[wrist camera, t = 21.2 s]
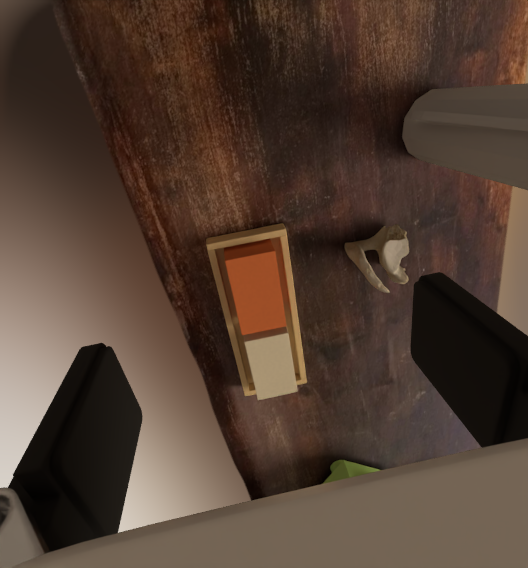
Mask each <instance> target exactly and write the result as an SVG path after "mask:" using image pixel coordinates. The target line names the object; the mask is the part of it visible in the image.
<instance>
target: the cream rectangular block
mask: <svg viewBox="0 0 528 568" xmlns="http://www.w3.org/2000/svg"><path fill="white" fill-rule="evenodd" d="M243 337H244V343H245V348H246V352H247V356H248V360H249V365H250V369H251V373H252V377H253V382H254V386H255V390H256V394H257V399H258V400H261V399H266V398H270V397H275V396H280V395H284V394H289V393H293V392H297V385H296V379H295V372H294V366H293V359H292V353H291V346H290V340H289V334H288V330H287V327H286V326H285V327H280V328H275V329H270V330H266V331H261V332H256V333H251V334H246V335H243Z"/></svg>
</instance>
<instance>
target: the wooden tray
mask: <svg viewBox="0 0 528 568" xmlns="http://www.w3.org/2000/svg"><path fill="white" fill-rule="evenodd" d="M265 239H270V240H271V242H272V245H273V247H274V249H275V253H276V259H277V266H278V272H279V279H280V286H281V292H282V299H283V305H284V312H285V319H286V325H287V326H286V327H287V330H288V334H289V340H290V346H291V353H292V359H293V366H294V372H295V379H296V385H299V384H304V383H307V379H306V372H305V365H304V357H303V350H302V343H301V335H300V328H299V321H298V313H297V306H296V298H295V291H294V284H293V276H292V269H291V262H290V254H289V247H288V239H287V232H286V228H285V227H284V225H283V223H281V224H276V225H271V226H266V227H261V228H256V229H251V230H246V231H241V232H236V233H231V234H226V235H221V236H216V237H211V238H206V247H207V250H208V255H209V258H210V262H211V266H212V270H213V274H214V278H215V282H216V286H217V289H218V293H219V297H220V301H221V305H222V309H223V313H224V317H225V320H226V324H227V328H228V332H229V336H230V340H231V344H232V348H233V352H234V355H235V359H236V363H237V367H238V371H239V375H240V379H241V383H242V386H243V390H244V394H245V396H249V395H253V394H256V390H255V386H254V382H253V377H252V373H251V369H250V365H249V360H248V356H247V352H246V348H245V343H244V337H243V335H242V334H241V329H240V325H239V321H238V316H237V312H236V308H235V303H234V299H233V295H232V290H231V286H230V282H229V277H228V273H227V269H226V264H225V258H224V248H225V247H230V246H235V245H240V244H245V243H250V242H255V241H260V240H265Z"/></svg>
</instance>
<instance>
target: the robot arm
mask: <svg viewBox="0 0 528 568" xmlns="http://www.w3.org/2000/svg"><path fill="white" fill-rule="evenodd" d="M411 355H412V358H413V360H414V361H415V363H416V364H417V365H418V367H419V368H420V369H421V370H422V372H423V373H424V374H425V376H426V377H427V378H428V379H429V381H430V382H431V383H432V384H433V386H434V387H435V388H436V390H437V391H438V392H439V393H440V395H441V396H442V397H443V399H444V400H445V401H446V402H447V404H448V405H449V406H450V407H451V409H452V410H453V411H454V413H455V414H456V415H457V416H458V418H459V419H460V420H461V422H462V423H463V424H464V425H465V427H466V428H467V429H468V430H469V432H470V433H471V434H472V436H473V437H474V438H475V439H476V441H477V442H478V443H479V445H480V446H481V447H482V448H478V449H474V450H469V451H465V452H460V453H456V454H451V455H447V456H443V457H438V458H434V459H429V460H425V461H421V462H416V463H412V464H407V465H403V466H399V467H394V468H390V469H385V470H381V471H376V472H372V473H368V474H364V475H359V476H355V477H351V478H346V479H342V480H338V481H333V482H329V483H325V484H320V485H316V486H312V487H307V488H303V489H299V490H295V491H290V492H286V493H282V494H278V495H273V496H269V497H265V498H260V499H256V500H252V501H248V502H244V503H239V504H235V505H231V506H227V507H223V508H218V509H214V510H210V511H206V512H202V513H197V514H193V515H190V516H185V517H181V518H177V519H172V520H168V521H164V522H160V523H155V524H151V525H147V526H144V527H140V528H136V529H132V530H128V531H124V532H120V533H118V529H119V525H120V520H121V515H122V511H123V506H124V501H125V497H126V492H127V488H128V483H129V479H130V474H131V470H132V465H133V460H134V456H135V451H136V446H137V442H138V437H139V432H140V428H141V424H142V411H141V408H140V406H139V404H138V402H137V399H136V398H135V395H134V393H133V391H132V389H131V387H130V385H129V382H128V380H127V378H126V376H125V374H124V372H123V370H122V368H121V365H120V363H119V361H118V359H117V357H116V355H115V353H114V351H113V349H112V347H110V346H108V347H106V345H104V344H103V343H99V344H94V345H90V346H85V347H82V348H81V349H80V350H79V352H78V354H77V356H76V358H75V360H74V361H73V363H72V365H71V367H70V369H69V371H68V372H67V375H66V376H65V378H64V380H63V382H62V384H61V386H60V387H59V389H58V391H57V393H56V395H55V397H54V399H53V401H52V403H51V404H50V406H49V408H48V410H47V412H46V414H45V416H44V417H43V419H42V421H41V423H40V425H39V427H38V429H37V431H36V432H35V434H34V436H33V438H32V440H31V442H30V444H29V446H28V448H27V449H26V451H25V453H24V455H23V457H22V459H21V461H20V463H19V464H18V466H17V468H16V470H15V472H14V474H13V476H14V477H13V479H12V481H11V483H10V485H9V487H8V488H0V568H528V336H527V335H526V334H524V333H523V332H522V331H520V330H518V329H517V328H516V327H515V326H513V325H512V324H511V323H509V322H508V321H507V320H505V319H504V318H503V317H501V316H500V315H499V314H497V313H496V312H494V311H493V310H492V309H490V308H489V307H488V306H486V305H485V304H484V303H482V302H481V301H480V300H478V299H477V298H476V297H474V296H473V295H471V294H470V293H469V292H467V291H466V290H465V289H463V288H462V287H461V286H459V285H458V284H457V283H455V282H454V281H453V280H451V279H450V278H449V277H447V276H446V275H444V274H443V273H441V272H438V273H434V274H429V275H424V276H421V277H420V278H419V281H418V282H416V283H415V284H414V295H413V313H412V332H411Z"/></svg>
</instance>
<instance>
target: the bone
mask: <svg viewBox="0 0 528 568" xmlns="http://www.w3.org/2000/svg"><path fill="white" fill-rule="evenodd" d="M406 234H407V232H406V231H404V230H403V229H401V228H400V227H399V225H398V224H396V225H393V226H392V227H388V228H386V227H385V226H384V227H383V228H382V229H381V230H380V231H379V232H378V233H377V234H376V235H374V236H373V237H371V238H369V239H366V240H362V241H356V242H351V243H345V246H344V248H345V251H346V253H347V255H348V256H349V257H350V259H351V260H352V261H353V262H354V263H355V264H356V265H357V267H358V268H359V269H360V271H361V272H362V273H363V274H364V275H365V277H366V279H367V280H368V281H369V283H370V284H372V285H373V286H374V287H376V288H377V289H378V290H380V291H382V292H387V293H389V292H390V291H389V290H388V289H387V288H386V287H385V286H384V285H383V284H382V282H381V281H380V279H379V278H378V277H377V276H376V275H375V273H374V272H373V269H372V267H371V266H370V264H369V263H368V261H367V259H366V257H365V254H364V251H367V250H376V251H377V252H378V254H379V260H380V264H381V265H382V266H383V268H384V269H386V272H387V275H388V276H389V278H390V279H391V280H392V281H393V282H397V283H401V284H405V283H406V282H408V276H407V275H406V274H405V272H404V270H405V269H404V268H402V267H401V266H399V264H400V261H401V259H402V258H403V257H405V256H406V255H407V254H408V253H409V247H408V240H407V237H406Z"/></svg>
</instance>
